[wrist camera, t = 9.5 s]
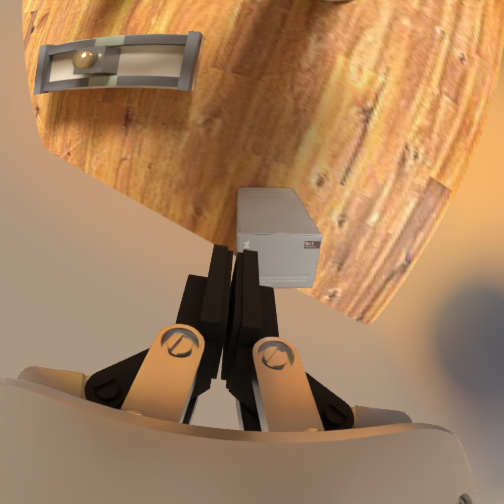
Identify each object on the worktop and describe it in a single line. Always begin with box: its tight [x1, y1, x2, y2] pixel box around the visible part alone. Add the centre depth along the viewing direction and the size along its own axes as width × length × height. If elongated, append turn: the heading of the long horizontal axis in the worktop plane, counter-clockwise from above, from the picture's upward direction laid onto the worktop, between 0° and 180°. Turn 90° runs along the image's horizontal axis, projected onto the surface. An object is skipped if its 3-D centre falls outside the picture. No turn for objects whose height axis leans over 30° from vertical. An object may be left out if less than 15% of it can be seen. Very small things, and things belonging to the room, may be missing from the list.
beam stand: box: [34, 31, 205, 95], centre depth 25 cm, size 7×22×8 cm, turn 79°
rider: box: [72, 45, 121, 75], centre depth 21 cm, size 3×4×6 cm
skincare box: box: [236, 187, 322, 288], centre depth 34 cm, size 8×7×16 cm
